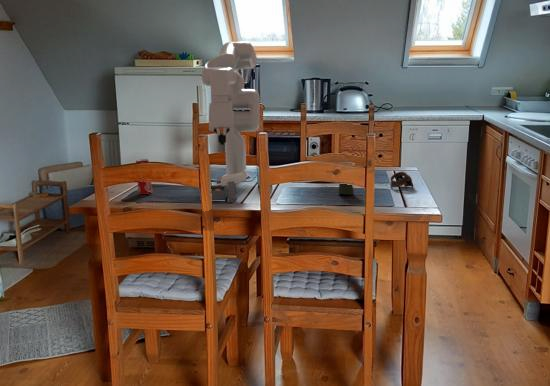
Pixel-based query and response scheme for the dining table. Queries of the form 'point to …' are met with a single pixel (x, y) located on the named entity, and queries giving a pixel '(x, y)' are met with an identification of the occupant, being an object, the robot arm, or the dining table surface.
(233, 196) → the catapult stand
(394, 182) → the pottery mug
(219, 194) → the cup
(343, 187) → the character mug
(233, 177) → the seesaw trough
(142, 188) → the beverage can
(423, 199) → the dining table surface
